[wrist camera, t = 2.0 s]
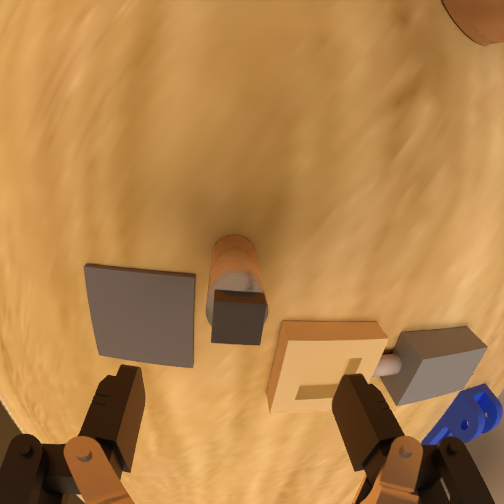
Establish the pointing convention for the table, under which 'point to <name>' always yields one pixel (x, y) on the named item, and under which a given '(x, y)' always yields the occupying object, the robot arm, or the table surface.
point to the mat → (142, 314)
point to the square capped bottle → (235, 293)
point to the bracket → (467, 416)
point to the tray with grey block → (367, 363)
